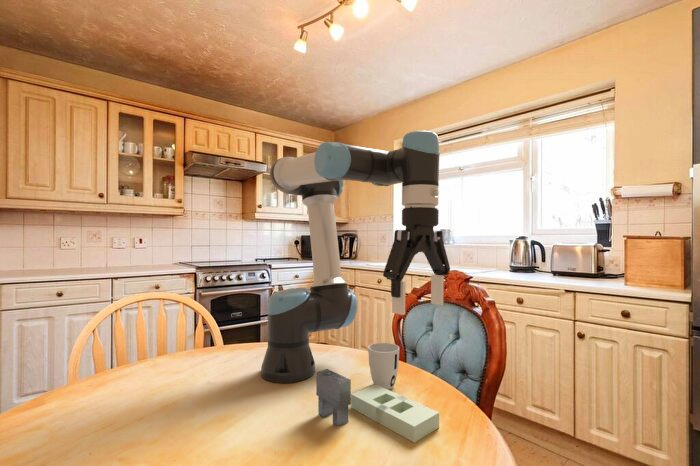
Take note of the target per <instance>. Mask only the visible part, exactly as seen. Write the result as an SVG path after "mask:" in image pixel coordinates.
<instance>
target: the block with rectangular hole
mask: <svg viewBox="0 0 700 466" xmlns="http://www.w3.org/2000/svg"><path fill="white" fill-rule="evenodd" d="M350 408H351V409H353V410H355V411H357V412H359V413H360V414H362V415H364V416H365V417H367V418H369V419H371V420H373V421H374V422H376V423H378V424H380V425H381V426H384V427H385V428H388V429H389V430H391V431H393V432H395V433H396V434H398V435H400V436H401V437H403V438H405V439H406V440H408V441H411V442H413V443H416V442H418V441H420V440H421V439H422V438H424V437H426V436H427V435H430V434H431V433H433V432H434V431H435V430H437V429H439V428H440V411H437V410H434V409H432V408H430V407H427V406H425V405H423V404H421V403H419V402H416V401H415V400H413V399H412V400H411V399H410V398H407V397H406V396H403V395H401V394H399V393H396V392H395V391H392V390H391V389H390V390H387V389H385V388H383V387H381V386H378V385H376V384H375V385H374V384H373V385H371V386H368V387H366V388H362V389H361V390H358V391H355V392H353V393H351V404H350Z"/></svg>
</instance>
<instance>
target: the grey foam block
mask: <svg viewBox="0 0 700 466" xmlns="http://www.w3.org/2000/svg"><path fill="white" fill-rule="evenodd" d="M315 373H316V381H315V382H316V387H315V388H316V394H315V395H316V396H317V397H318V409H317V410H318V414H317V415H318V416H319V417H321V418H325V417H327V416H329V415H332V425H333V426H335V427H337V428H339V427H341V426H343V425H345V424H348V423H349V405H351V394H352V387H351V385H352V382H351V378H348V377H346V376H343V375H341V374H339V373H337V372H335V371H333V370H331V369H330V368H329V369H328V368H325V369H322V370H319V371H317V372H316V371H315Z"/></svg>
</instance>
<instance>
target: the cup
mask: <svg viewBox="0 0 700 466" xmlns="http://www.w3.org/2000/svg"><path fill="white" fill-rule="evenodd" d="M367 351H368V353H367V354H368V363H369V364H368V365H369V371H370V376H371V380H372V384H373V385H375V384H376V385H378V386H381V387H383V388H385V389H387V390H390V391H391V390H392V389H394V387H395V384H396V380H397V378H398V377H397V376H398V372H399V371H398V370H399V363H400V362H399V361H400V346H399V345H397V344H394V343H390V342H374V343H371V344H369V345H368V347H367Z"/></svg>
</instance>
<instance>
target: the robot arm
mask: <svg viewBox="0 0 700 466" xmlns="http://www.w3.org/2000/svg"><path fill="white" fill-rule="evenodd" d="M439 140H440V139H439V136H438V134H437V133H435V132H433V131H429V130H415V131H414V130H413V131H410V132H409V131H408V132H407V133H405V135H404V136H403V137H402V143H401V146H402V147H400V148H398V149H395V150H390V151H389V150H382V149H376V148H370V147H363V146H359V145H353V144H348V143H347V144H346V143H342V142H340V141H336V142H335V141H334V142H333V141H324V142H323V141H322V143H320V144H319V147H317V149H316V151H314V152H311V153H310V152H309V153H308V154H304V155H300V156H297V157H293V156H284V157H281V158H278V159H276V160H275V161H274V162H273V163H272V165H271V167H270V169H269V178H270V181H271V183H272V185H273V186H274V187H275V188H276V189H277V190H278V191H280V192H282V193H285V194H288V195H291V196H292V195H293V196H300V197H301V199H302V200H301V201H302V204H303V205H304V206H305V207H306V208H307V212H308V213H307V214H308V225H309V226H308V227H309V233H310V234H309V236H310V237H309V239H310V247H311V249H310V250H311V256H312V259H311V260H312V269H313V282H312V283H311V284H310V286H309V289H308V288H306V287H297V288H294V287H293V288H286V289H282V290H279V291H276V292H274V293H272V294H270V296H269V298H268V300H267V303H268V304H267V309H266V312H267V313H266V314H267V349H265V350H266V351H265V354H264V356H263V361H262V364H261V367H260V371H261V372H260V375H261V377H262V378H263V380H266V381H268V382H271V383H279V384H288V383H297V382H300V381H305V380H307V379H310V378H311V377H312V376H313V375H314V374H315V373H316V362H315V359H314V356H313V353H312V350H311V347H310V334H311V333H317V332H323V331H329V330H330V331H331V330H339V329H342V328H346V327H349V326H350V325H352V323H353V322H354V320H355V319H356V316H357V312H358V299H357V296H356V295H355V292H354V291H353V289H351V288H348V282H347V281H346V280H345V279H343V277H342V269H341V268H342V267H341V261H340V260H341V258H340V251H339V241H338V240H339V239H338V231H337V221H336V212H335V211H336V210H335V204H336V203H338V200H339V198H338V197H340V196H341V194H342V192H343V187H344V181H350V182H351V181H353V182H362V183H369V184H371V185H373V186H376V187H390V186H393V185H397V184H401V186H402V188H401V205H402V206H403V207H404V208H402V210H401V224H402V226H404V227H405V229H396V230H395V231H394V236H393V242H392V245H391V248H390V251H389V254H388V258H387V261H386V264H385V267H384V270H383V273H382V276H383V277H384V278H385V279H386V280H390V295H391V313H393V314H396V315H402V316H404V315H406V280H404V277H405V275H406V274H407V271H408V270H409V267H410V265H411V263H412V261H413V259H414V258H415V256H416V255H417V254H418V253H423V254H424V256H425V258H426V260H427V262H428V265H429V266H430V268H431V271H432V272H433V274H431V275H430V286H431V287H430V304H432V305H437V306H443V305H444V282H445V281H444V280H445V276H448V275H449V274H450V271H451V267H450V263H449V259H448V255H447V251H446V247H445V244H444V238H443V237H444V236H443V235H444V234H443V231H442V230H434V227H437V226H438V225H439V209H438V208H437V206H439V192H440V191H439V187H440V185H439V181H440V180H439V175H440V174H439V173H440V172H439V171H440V155H441V152H440V143H439Z"/></svg>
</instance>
